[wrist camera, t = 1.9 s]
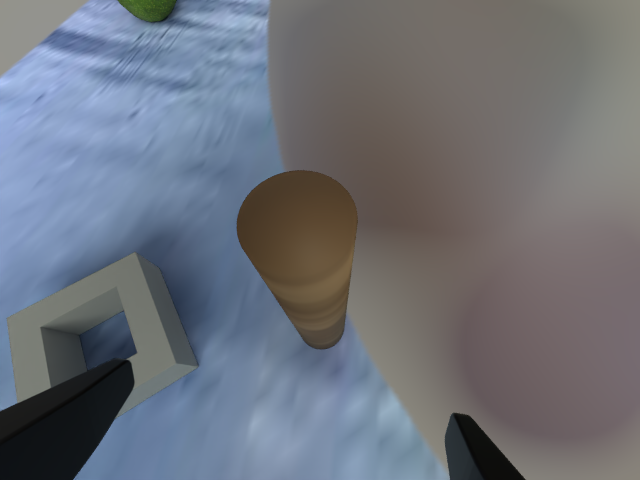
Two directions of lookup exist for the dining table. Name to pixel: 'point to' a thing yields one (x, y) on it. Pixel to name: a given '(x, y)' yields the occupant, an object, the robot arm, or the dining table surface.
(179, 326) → the hole block
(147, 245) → the dining table surface
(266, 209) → the long dowel
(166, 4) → the avocado
